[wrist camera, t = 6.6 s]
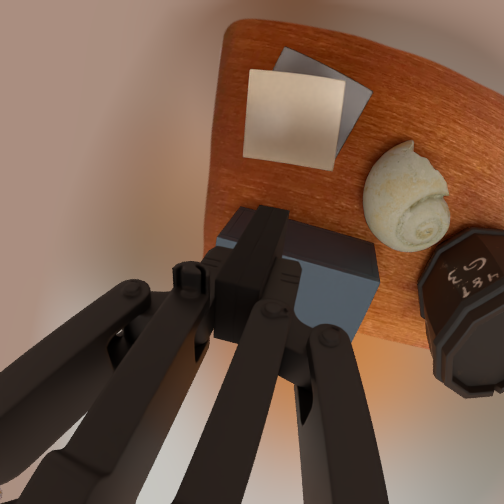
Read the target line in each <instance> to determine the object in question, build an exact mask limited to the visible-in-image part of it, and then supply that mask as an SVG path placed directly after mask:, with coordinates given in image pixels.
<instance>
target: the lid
mask: <svg viewBox="0 0 504 504" xmlns="http://www.w3.org/2000/svg"><path fill="white" fill-rule="evenodd" d="M238 240H239V239H236V238H232V237H229V236H225V235H221V234H219V235H218V236H217V240H216V246H222V247H227V248H232V249H233V248H234V247H235V245H236V243H237V242H238ZM282 258H284V259H289V260H294V261H299V263H300V265H301V267H302V273H301V278H300V283H299V287H298V292H297V297H296V301H295V306H294V312H295V315H296V316H297V318H298V319H299V320H300V321H301V322H302V323H304V324H306V325H307V326H310V327H312V328H313V327H315V326H317V325H319V324H332V325H336V326H338V327H340V328H342V329H343V330H344V331H345V332H346V333H347V334H348V336H349V338H350V341H351V342H352V340H353V338H354V336H355V334H356V332H357V330H358V328H359V326H360V324H361V322H362V320H363V318H364V316H365V314H366V312H367V310H368V308H369V306H370V304H371V302H372V300H373V297H374V295H375V293H376V291H377V289H378V287H379V284H380V279H379V278H375V277H372V276H368V275H365V274H361V273H358V272H354V271H350V270H347V269H343V268H340V267H336V266H333V265H329V264H326V263H322V262H319V261H315V260H311V259H308V258H304V257H301V256H297V255H294V254H290V253H286V252H283V255H282Z"/></svg>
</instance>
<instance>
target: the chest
mask: <svg viewBox="0 0 504 504" xmlns="http://www.w3.org/2000/svg"><path fill="white" fill-rule="evenodd" d="M255 212H256V210H252V209H249V208H245V207H240V208H239V209H238V210H237V212H236V213H235V214H234V216H233V217H232V218H231V219H230V221H229V222H228V223H227V225H226V226H225V227H224V229H223V230H222V231H221V232H220V234H221V235H225V236H229V237H232V238H236V239H239V238H240V237H241V235H242V233H243V232H244V230H245V228H246V227H247V225H248V223H249V222H250V220H251V218H252V217H253V215H254V213H255ZM283 252H286V253H290V254H294V255H297V256H301V257H304V258H308V259H311V260H315V261H319V262H322V263H326V264H329V265H333V266H336V267H340V268H343V269H347V270H350V271H354V272H358V273H361V274H365V275H368V276H372V277H375V278H379V272H378V266H377V260H376V254H375V248H374V243H371V242H367V241H364V240H361V239H357V238H354V237H350V236H347V235H344V234H340V233H337V232H333V231H330V230H326V229H323V228H319V227H315V226H312V225H308V224H305V223H301V222H297V221H294V220H290V219H288V224H287V230H286V236H285V243H284V249H283Z"/></svg>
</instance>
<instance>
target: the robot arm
mask: <svg viewBox="0 0 504 504" xmlns="http://www.w3.org/2000/svg"><path fill="white" fill-rule="evenodd" d="M288 217H289V210H284V209H279V208H274V207H268V206H263V205H259V207H258V208H257V210H256V212H255V213H254V215H253V217H252V218H251V220H250V222H249V223H248V225H247V227H246V228H245V230H244V232H243V233H242V235H241V237H240V238H239V240H238V242H237V243H236V245H235V247H234V248H233V249H232V248H227V247H222V246H216V247H214V248H213V249H211V250H209V251H208V253H207V254H206V255H205V257H204V258H203V260H202V261H201V262H194V261H188V262H182V263H179V264H177V265H175V266H174V267H173V268H172V269H173V286H174V287H173V289H172V290H171V291H169V292H153V291H150V287H149V285H148V284H147V283H146V282H145V281H142V280H139V279H130V280H126V281H123V282H121V283H119V284H118V285H116V286H115V287H114V288H112V289H111V290H110V291H108V292H107V293H106V294H104V295H102V296H101V297H100V298H98V299H97V300H96V301H94V302H93V303H91V304H90V305H89V306H87V307H86V308H84V309H83V310H82V311H80V312H79V313H78V314H76V315H75V316H73V317H72V318H71V319H69V320H68V321H67V322H65V323H64V324H63V325H61V326H60V327H58V328H57V329H56V330H55V331H53V332H52V333H51V334H49V335H48V336H47V337H45V338H44V339H43V340H41V341H40V342H39V343H37V344H36V345H35V346H33V347H32V348H31V349H30V350H28V351H27V352H26V353H24V355H22V356H20V357H19V358H18V359H17V360H15V361H14V362H13V363H12V364H10V365H9V366H8V367H7V368H5V369H4V370H3V371H2V372H0V485H2V484H4V483H7V482H9V481H10V480H12V479H14V478H15V477H17V476H18V475H20V474H21V473H22V472H23V471H24V470H26V469H27V468H28V467H29V466H30V465H31V464H32V463H33V462H35V460H37V459H38V458H39V457H40V456H41V455H42V454H43V453H44V452H45V451H46V450H47V449H48V448H49V447H51V446H52V445H53V444H54V443H55V442H56V441H57V440H58V439H59V438H60V437H61V436H62V435H63V434H64V433H65V432H66V431H67V430H69V429H70V428H71V427H72V426H73V425H74V424H75V423H76V422H77V421H78V420H79V419H80V418H81V417H82V416H83V415H85V414H86V412H87V414H86V416H85V417H84V418H83V420H82V422H81V423H80V425H79V426H78V428H77V429H76V431H75V432H74V434H73V436H72V437H71V439H70V441H69V442H68V444H67V445H66V446H65V447H64V448H63V449H60V450H53V451H51V452H49V453H48V454H47V455H46V456H45V457H44V458H43V459H42V461H41V463H40V464H39V466H38V467H37V469H36V471H35V472H34V474H33V475H32V477H31V479H30V480H29V482H28V483H27V485H26V487H25V488H24V490H23V492H22V493H21V495H20V497H19V498H18V499H15V500H11V501H8V502H5V503H1V504H135V503H136V500H137V497H138V495H139V493H140V491H141V489H142V487H143V484H144V483H145V481H146V478H147V476H148V474H149V472H150V470H151V468H152V466H153V464H154V462H155V459H156V457H157V455H158V453H159V451H160V449H161V447H162V445H163V443H164V440H165V439H166V437H167V434H168V432H169V430H170V428H171V426H172V424H173V422H174V420H175V417H176V416H177V413H178V411H179V409H180V407H181V405H182V403H183V401H184V399H185V397H186V395H187V392H188V390H189V388H190V386H191V384H192V381H193V380H194V378H195V376H196V373H197V371H198V369H199V367H200V365H201V363H202V361H203V359H204V356H205V355H206V352H207V350H208V348H209V344H210V342H209V341H210V335H211V333H212V331H213V329H214V338H217V339H221V340H225V341H229V342H233V343H237V344H238V346H237V349H236V351H235V354H234V356H233V359H232V362H231V364H230V366H229V369H228V372H227V374H226V376H225V379H224V381H223V384H222V386H221V389H220V391H219V393H218V396H217V399H216V401H215V403H214V406H213V408H212V411H211V413H210V416H209V418H208V421H207V423H206V425H205V428H204V430H203V433H202V435H201V438H200V440H199V442H198V445H197V447H196V450H195V452H194V454H193V456H192V459H191V461H190V464H189V466H188V468H187V471H186V473H185V476H184V478H183V480H182V482H181V485H180V487H179V490H178V492H177V494H176V496H175V498H174V500H173V502H172V503H171V504H241V502H242V499H243V496H244V493H245V490H246V486H247V483H248V480H249V477H250V473H251V470H252V467H253V464H254V460H255V457H256V453H257V450H258V446H259V443H260V439H261V435H262V432H263V429H264V425H265V422H266V418H267V414H268V411H269V407H270V403H271V400H272V396H273V392H274V388H275V384H276V380H277V377H278V376H280V377H282V378H284V379H286V380H288V381H290V382H291V383H293V384H294V391H295V402H296V412H297V424H298V436H299V447H300V460H301V472H302V486H303V500H304V504H389V501H388V496H387V490H386V485H385V480H384V475H383V470H382V465H381V460H380V456H379V451H378V447H377V442H376V438H375V434H374V429H373V425H372V421H371V416H370V412H369V409H368V405H367V400H366V397H365V392H364V389H363V385H362V381H361V377H360V373H359V370H358V366H357V362H356V359H355V355H354V352H353V348H352V345H351V341H350V338H349V336H348V334H347V333H346V332H345V331H344V330H343V329H342V328H340V327H338V326H336V325H332V324H319V325H317V326H315V327H313V328H312V327H310V326H307V325H306V324H304V323H302V322H301V321H300V320H299V319H298V318H297V316H296V315H295V312H294V306H295V301H296V297H297V292H298V287H299V283H300V278H301V273H302V267H301V265H300V263H299V261H294V260H289V259H284V258H282V255H283V249H284V243H285V236H286V230H287V224H288ZM120 330H122V331H121V332H120V333H119V334H117V333H118V332H119V331H120ZM1 498H2V490H1V489H0V499H1Z"/></svg>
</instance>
